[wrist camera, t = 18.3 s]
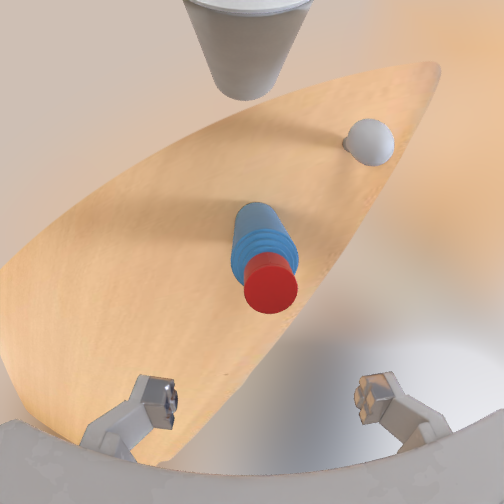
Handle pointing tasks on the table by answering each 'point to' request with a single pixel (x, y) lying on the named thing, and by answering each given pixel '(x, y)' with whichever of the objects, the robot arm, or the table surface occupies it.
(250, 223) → the bottle
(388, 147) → the lightbulb
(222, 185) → the table surface
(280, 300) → the cap
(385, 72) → the table surface
